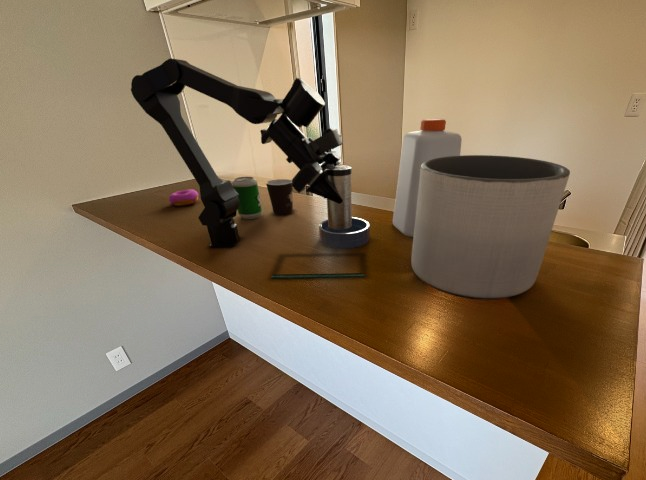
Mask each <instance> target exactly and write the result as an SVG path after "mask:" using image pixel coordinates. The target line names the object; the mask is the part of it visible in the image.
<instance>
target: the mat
mask: <svg viewBox="0 0 646 480" xmlns="http://www.w3.org/2000/svg"><path fill="white" fill-rule="evenodd" d="M349 278H350V279H351V278H352V279H353V278H358V279H359V278H365V272H352V273H351V272H349V273H348V272H346V273H342V272H341V273H292V274H291V273H288V274H285V273H282V274H281V273H280V274H272V275H271V280H283V279H284V280H290V279H294V280H295V279H296V280H297V279H349Z"/></svg>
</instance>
